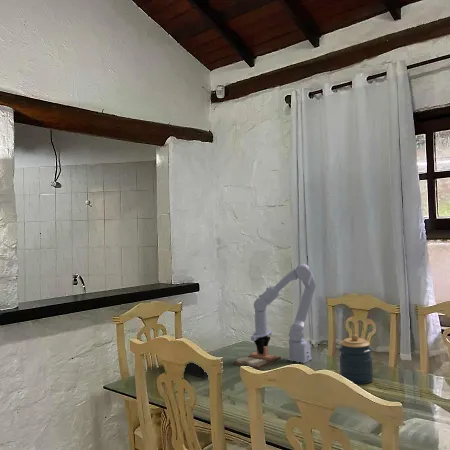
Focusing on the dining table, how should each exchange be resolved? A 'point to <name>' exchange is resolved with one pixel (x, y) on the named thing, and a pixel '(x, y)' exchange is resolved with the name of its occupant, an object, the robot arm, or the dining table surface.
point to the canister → (356, 360)
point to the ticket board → (255, 362)
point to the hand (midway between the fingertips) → (262, 353)
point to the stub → (264, 355)
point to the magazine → (195, 370)
